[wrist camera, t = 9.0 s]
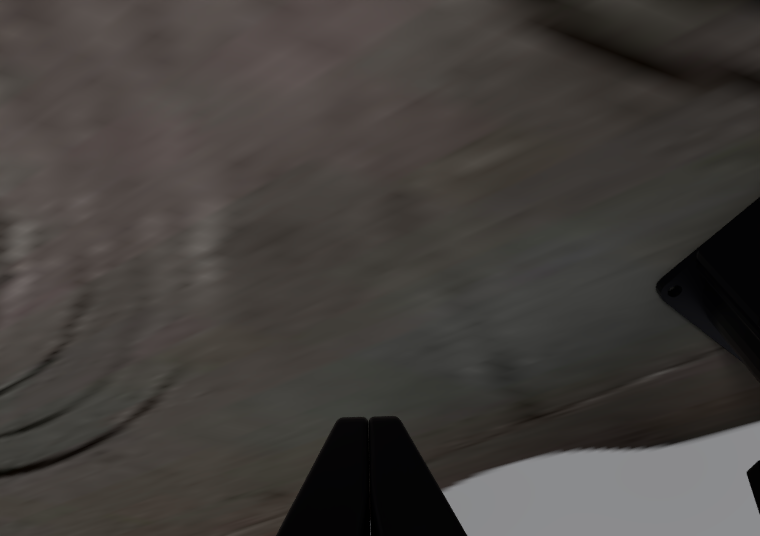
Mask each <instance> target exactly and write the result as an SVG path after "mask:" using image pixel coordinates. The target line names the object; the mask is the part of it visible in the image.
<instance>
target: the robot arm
mask: <svg viewBox="0 0 760 536" xmlns="http://www.w3.org/2000/svg"><path fill="white" fill-rule="evenodd" d="M673 286H676V287H675V288H674V289H673V290H670V291H668V290H669V289H670V288H671V287H673ZM656 291H657V292H658V294H659V295H660V296H661V298H662V299H663V300H664V301H665V302H666V303H667V304H669V305H670V306H671V307H673V308H674V309H675V310H676V311H678V312H679V313H680V314H682V315H683V316H684V317H685V318H687V319H688V320H689V321H691V322H692V323H693V324H694V325H696V326H697V327H698V328H700V329H701V330H702V331H703V332H705V333H706V334H707V335H709V336H710V337H711V338H712V339H714V340H715V341H716V342H717V343H719V344H720V345H721V346H723V347H724V348H725V349H726V350H728V351H729V352H730V353H732V354H733V355H734V356H735V357H737V358H738V359H739V360H741V361H742V362H743V363H744V364H745V365H746V366H747V368H748V369H749V370H750V371H751V373H752V374H753V375H754V376H755V378H756V379H757V380H758V381H759V383H760V197H759V198H758V199H757V200H756V201H755V202H753V203H752V204H751V205H750V206H749V207H747V208H746V209H745V210H744V211H742V212H741V213H740V214H739V215H738V216H736V217H735V218H734V219H733V220H732V221H730V222H729V223H728V224H727V225H725V226H724V227H723V228H722V229H721V230H719V231H718V232H717V233H716V234H715V235H713V236H712V237H711V238H710V239H708V240H707V241H706V242H705V243H704V244H702V245H701V246H700V247H699V248H697V249H696V250H695V251H694V252H693V253H691V254H690V255H689V256H688V257H687V258H685V259H684V260H683V261H682V262H680V263H679V264H678V265H677V266H676V267H674V268H673V269H672V270H671V271H670V272H668V273H667V274H666V275H665V276H663V277H662V278H661V279H660V280H659V281H658V283H657V285H656ZM369 473H370V487H369ZM747 476H748V479H749V482H750V486H751V488H752V491H753V495H754V498H755V501H756V504H757V507H758V510H759V513H760V460H759V461H758V462H757V463H756V464H755V465H753V466H752V467H751V468H750V469H749V470H748V471H747ZM370 523H371V536H467V534H466V533H465V531H464V529H463V528H462V526H461V524H460V522H459V521H458V519H457V517H456V516H455V514H454V512H453V510H452V508H451V507H450V505H449V503H448V502H447V500H446V498H445V496H444V495H443V493H442V491H441V489H440V488H439V486H438V484H437V482H436V481H435V479H434V477H433V475H432V474H431V472H430V470H429V469H428V467H427V465H426V463H425V462H424V460H423V458H422V456H421V455H420V453H419V451H418V449H417V448H416V446H415V444H414V443H413V441H412V439H411V437H410V436H409V434H408V432H407V430H406V429H405V427H404V425H403V423H402V422H401V420H400V419H399V418H398V417H396V416H381V417H372V418H370V420H369V437H368V420H367V419H366V418H365V417H343V418H340V419H338V420H337V422H336V423H335V425H334V427H333V428H332V430H331V432H330V434H329V436H328V438H327V440H326V442H325V444H324V446H323V447H322V449H321V451H320V453H319V455H318V457H317V459H316V461H315V463H314V465H313V466H312V468H311V470H310V472H309V474H308V476H307V478H306V480H305V482H304V484H303V485H302V487H301V489H300V491H299V493H298V495H297V497H296V499H295V501H294V502H293V504H292V506H291V508H290V510H289V512H288V514H287V516H286V518H285V520H284V521H283V523H282V525H281V527H280V529H279V531H278V533H277V535H276V536H370Z"/></svg>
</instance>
